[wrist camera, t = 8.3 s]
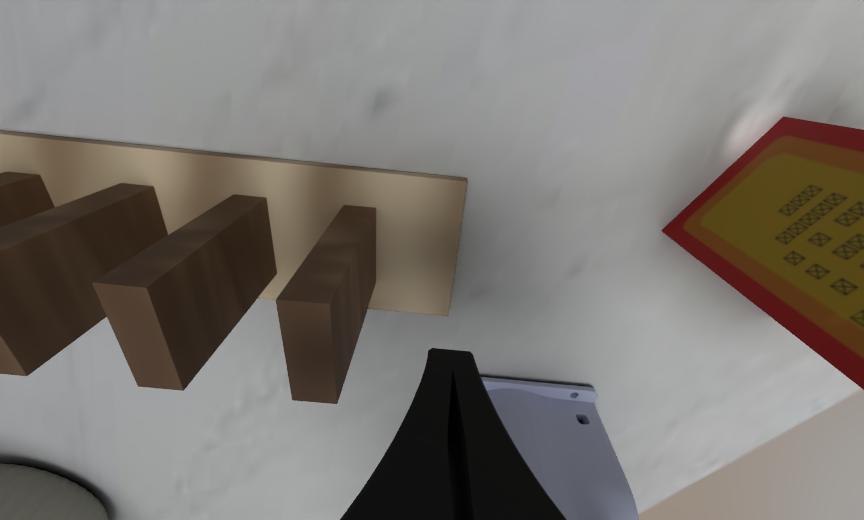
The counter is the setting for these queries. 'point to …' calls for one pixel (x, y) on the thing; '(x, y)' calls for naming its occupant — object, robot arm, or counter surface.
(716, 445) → the counter surface
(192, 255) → the domino
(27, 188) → the domino
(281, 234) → the light wooden board
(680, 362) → the counter surface
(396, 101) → the counter surface
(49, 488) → the canister
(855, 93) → the counter surface
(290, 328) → the domino
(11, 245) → the domino
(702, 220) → the baking soda box
